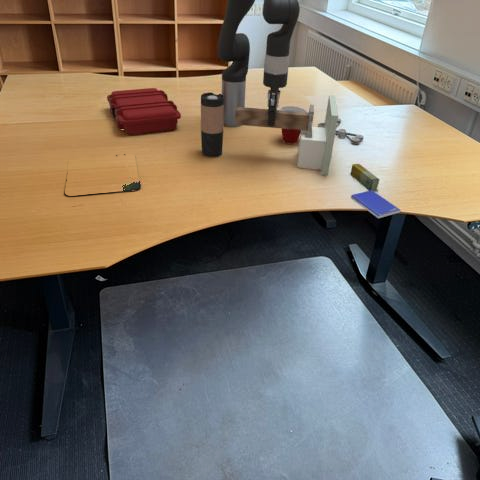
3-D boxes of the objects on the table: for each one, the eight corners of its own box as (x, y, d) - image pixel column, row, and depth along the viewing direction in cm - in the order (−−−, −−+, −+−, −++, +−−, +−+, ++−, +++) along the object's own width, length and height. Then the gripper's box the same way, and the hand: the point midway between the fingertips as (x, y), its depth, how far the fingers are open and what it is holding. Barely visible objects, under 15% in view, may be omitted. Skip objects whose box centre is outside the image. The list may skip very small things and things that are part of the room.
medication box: (377, 190, 137) (380, 179, 135) (370, 192, 136) (373, 180, 134) (356, 173, 146) (359, 162, 144) (349, 174, 145) (351, 163, 143)
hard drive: (401, 209, 126) (372, 189, 135) (379, 215, 123) (351, 194, 132) (399, 213, 127) (371, 194, 136) (377, 219, 124) (350, 199, 133)
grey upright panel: (297, 172, 144) (305, 113, 133) (298, 148, 161) (305, 92, 149) (327, 175, 144) (338, 115, 132) (325, 150, 160) (335, 95, 148)
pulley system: (330, 149, 163) (367, 144, 166) (331, 137, 160) (369, 132, 163) (303, 125, 185) (336, 121, 188) (304, 114, 182) (337, 110, 185)
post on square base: (234, 126, 145) (235, 105, 141) (237, 119, 151) (237, 98, 146) (311, 133, 143) (314, 112, 139) (310, 125, 149) (313, 104, 144)
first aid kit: (183, 131, 170) (182, 109, 165) (122, 138, 162) (119, 116, 157) (161, 104, 193) (160, 84, 188) (107, 110, 185) (104, 89, 180)
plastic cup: (307, 147, 162) (312, 115, 155) (278, 146, 161) (281, 114, 154) (302, 135, 170) (306, 104, 163) (274, 135, 170) (277, 104, 163)
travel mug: (206, 159, 150) (206, 100, 138) (197, 150, 155) (196, 93, 144) (226, 155, 153) (228, 98, 141) (217, 147, 158) (217, 91, 147)
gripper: (265, 63, 142) (262, 115, 152) (262, 74, 131) (258, 130, 141) (288, 64, 142) (283, 117, 152) (287, 76, 130) (281, 132, 140)
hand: (271, 123), depth 146 cm, fingers closed on post on square base, 3 cm apart
